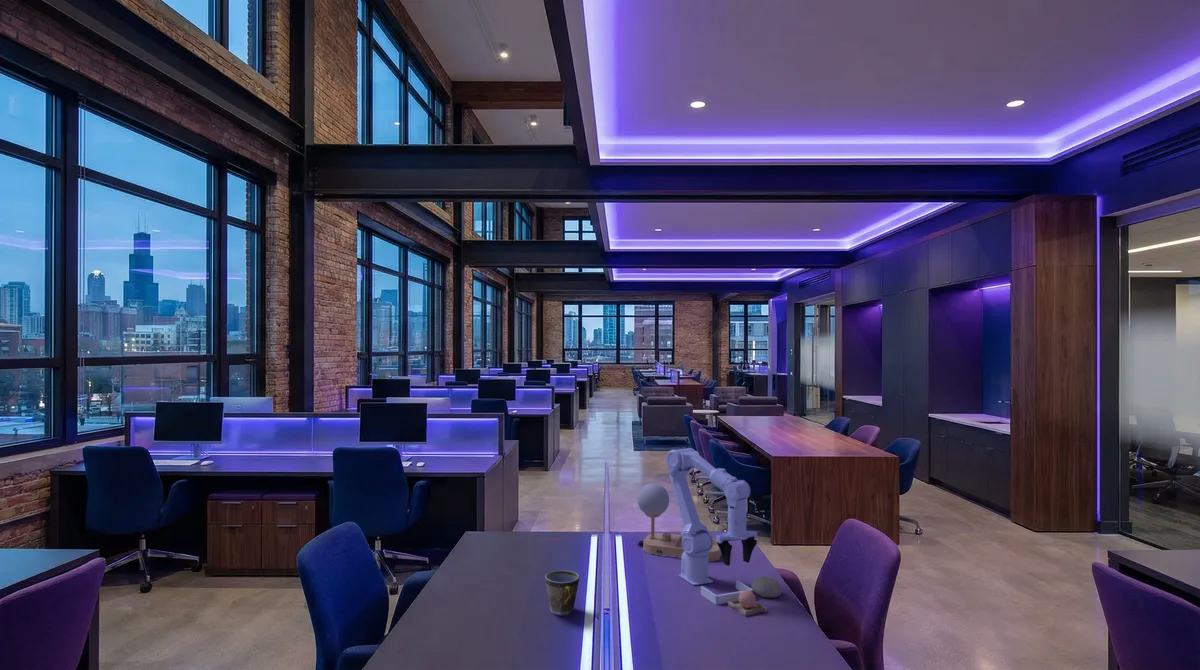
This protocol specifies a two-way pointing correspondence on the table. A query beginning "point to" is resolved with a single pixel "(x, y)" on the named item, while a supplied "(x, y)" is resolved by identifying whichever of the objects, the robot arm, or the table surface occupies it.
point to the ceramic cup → (562, 591)
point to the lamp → (653, 505)
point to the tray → (746, 611)
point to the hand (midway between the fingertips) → (736, 563)
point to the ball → (747, 599)
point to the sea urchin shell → (766, 587)
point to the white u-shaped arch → (725, 597)
